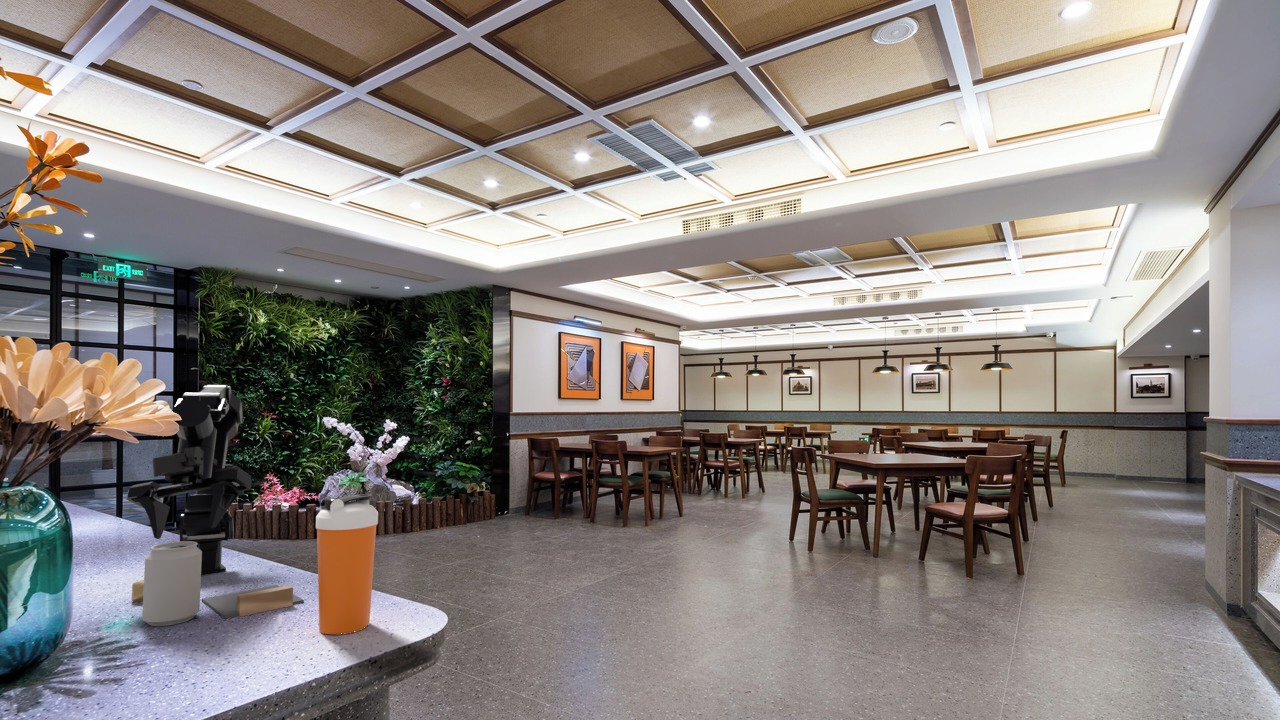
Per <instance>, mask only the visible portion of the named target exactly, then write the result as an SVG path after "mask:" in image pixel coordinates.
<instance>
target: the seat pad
mask: <svg viewBox="0 0 1280 720" xmlns="http://www.w3.org/2000/svg"><path fill="white" fill-rule="evenodd" d="M278 587H280V586H279V585H277V584H275V585H274V584H273V585H269V586H263V587H258V588H251V589H247V590H246V589H245V590H241V591H237V592H236V591H235V592H232V593H225V594H220V595H215V596H209V597H202V598H201V602H202V603H204V605H206V606H208V607H209V608H210V609H211V610H213V611H214V612H216V613H217V614H218V615H219V616H221V617H222V618H223V619H225V620H226V619H231V618H235V617H240V616H239V613H238V612H236V602H237V595H241V594H246V593H251V592H256V591H262V590H267V589H272V588H278ZM300 602H303V603H304V602H305V600H304V599H303V598H301V597H299V596H297V595H296V594H294V593H293V605H298V604H301V603H300Z"/></svg>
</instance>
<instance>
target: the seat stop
mask: <svg viewBox="0 0 1280 720" xmlns="http://www.w3.org/2000/svg"><path fill="white" fill-rule="evenodd" d="M293 594H294V587H293V586H291V585H284V586H279V587H278V588H272V589H267V590H262V591H256V592H251V593H246V594H241V595H237V602H236V612H238V613H239V616H238V617H244V616H249V615H252V614H258V613H263V612H267V611H268V612H269V611H272V610H277V609H282V608H283V609H284V608H287V607H292V606H293V605H294V604H293Z"/></svg>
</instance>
